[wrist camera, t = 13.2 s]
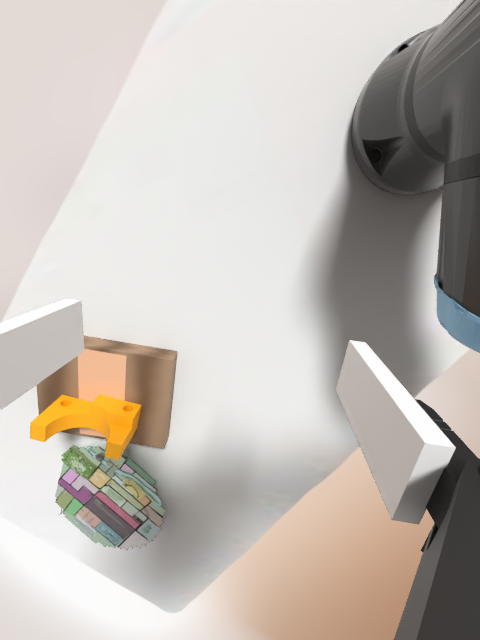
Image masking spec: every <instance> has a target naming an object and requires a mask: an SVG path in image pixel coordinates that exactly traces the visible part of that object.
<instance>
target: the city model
mask: <svg viewBox="0 0 480 640" xmlns="http://www.w3.org/2000/svg"><path fill="white" fill-rule="evenodd" d="M86 449H87V450H86ZM86 449H85V448H84V447H83V448H80V449H78V447H77V446H75V445H74V446H73V447H72V448H70V450H68V451H67V452H66V453H64V455H62V456H63V457H64V458H65V459H62V461H63V462H64V463H63V467H62V471H61V475H60V479H59V481H58V482H57V483H58V487H57V491H56V495H55V497H56V498H57V499H56V503H57V504H58V505H59V506H60V507H61V508H62V509H64V510H63V511H62V509H61V511H62V512H61V513H63V514H64V515H66V516H65V517H66V518H67V519H68V520H69V521H70V522H72V523H73V524H74V525H75V526H76V527H77V528H79V529H80V530H81V531H82V532H83V533H84V534H85V535H87V536H88V537H89V538H90V539H91V540H92V541H93V542H95V543H97V542H98V541H99V542H100V543H101V544H102V545H103V546H104V547H106V546H108V547H114V548H115V546H117V547H119V548H120V549H122V548H125V549H126V550H128V548H130V547H131V548H133V547H139V548H141V547H142V546H143V545H145V546H146V545H147V543H148V542H150V540H151V541H153V539H154V538H155V537H156V536H157V534H158V533H159V532H160V531H161V529H162V528H161V526H160V525H162V524H163V523H164V522H163V521H162V520H163V519H164V518H166V517H165V516H164V515H163V514H164V513H165V512H166V510H164V509H163V508H162V507H161V503H162V502H161V500H160V499H159V498H158V495H157V494H156V493H155V491H156V490H157V489H156V488H155V487H153V486H152V485H153V484H155V483H156V482H155V481H154V480H153V479H152V478H151V477H150V476H149V475H148V474H146V473H145V472H144V471H143V470H142V469H141V468H140V467H139V466H138V465H136V464H135V463H134V462H133V461H132V460H131V459H130V458H127V459H125V458H123V457H122V456H121V458H120V459H119V460H116V459H112V458H108V457H105V452H106V450H105V452H104V451H103V450H102V449H100V448H99V447H98V446H97V448H95V447H93V448H91V447H90V446H88V447H87V448H86ZM159 505H160V506H159ZM61 513H60V514H61ZM60 514H59V515H60Z"/></svg>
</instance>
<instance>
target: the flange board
mask: <svg viewBox="0 0 480 640" xmlns="http://www.w3.org/2000/svg"><path fill="white" fill-rule="evenodd" d="M176 360H177V351H171V350H165V349H159V348H153V347H147V346H141V345H136V344H130V343H124V342H118V341H112V340H106V339H100V338H94V337H88V336H84V352H82V353H81V354H79V355H78V356H77V357H75V358H74V359H72V360H71V361H70V362H68V363H67V364H65V365H64V366H62V367H61V368H60V369H58V370H57V371H55V372H54V373H53V374H51V375H50V376H48V377H47V378H45V379H44V380H43V381H41V382H40V383H38V384H37V395H38V408H39V415H40V414H41V413H42V412H43V411H45V410H46V409H47V408H48V407H49V406H50V405H51V404H52V403H54V402H55V401H56V400H57V399H58V398H59V397H60V396H61V395H66V396H70V397H74V398H78V399H82V400H86V401H90V402H93V401H94V400H95V399H96V398H97V397H98V396H99V395H100V394H101V395H105V396H109V397H113V398H116V399H120V400H124V401H128V402H132V403H136V404H140V405H142V407H141V412H140V417H139V423H138V428H137V429H136V431H135V433H134V435H133V436H132V438H131V440H130V442H129V443H133V444H139V445H145V446H152V447H158V448H164V446H165V444H166V441H167V439H168V436H169V429H170V419H171V409H172V399H173V389H174V379H175V370H176ZM61 432H66V433H72V434H78V435H84V436H90V437H96V438H102V439H106V437H105V436H104V435H103V434H102V433H100V432H99V431H97V430H94V429H91V428H84V427H78V428H71V429H66V430H63V431H61Z"/></svg>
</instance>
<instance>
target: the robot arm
mask: <svg viewBox="0 0 480 640" xmlns="http://www.w3.org/2000/svg"><path fill="white" fill-rule="evenodd" d="M352 145H353V150H354V154H355V157H356V160H357V162H358V164H359V166H360V168H361V170H362V171H363V173H364V174H365V175H366V177H367V178H368V179H369V180H370V181H371V182H372V183H374V184H375V185H376V186H378V187H380V188H381V189H383V190H386V191H388V192H392V193H396V194H417V193H422V192H427V191H431V190H435V189H438V188H440V187H443V193H442V208H441V222H440V236H439V249H438V263H437V273H436V275H435V277H434V284H435V288H436V289H437V316H438V320H439V322H440V324H441V325H442V326H443V327H444V328H445V329H446V330H447V331H448V333H449V334H450V335H451V336H452V337H453V338H454V339H456V340H457V341H459V342H460V343H462V344H463V345H465V346H467V347H469V348H471V349H473V350H475V351H477V352H479V353H480V0H463V1H462V2H461V3H460V4H459V5H458V6H457V7H456V8H455V9H454V11H453V12H452V13H451V14H450V15H449V16H448V17H447V18H446V19H445V20H444V21H443V22H442V23H441V24H439V25H437V26H435V27H432V28H430V29H428V30H426V31H424V32H421V33H419V34H417V35H415V36H413V37H411V38H410V39H408V40H406V41H405V42H403V43H402V44H401V45H399V46H398V47H397V48H396V49H394V50H393V51H392V52H391V53H390V54H389V55H388V56H387V57H386V58H385V59H384V60H383V62H382V63H381V64H380V65H379V67H378V68H377V69H376V70H375V72H374V73H373V74H372V76H371V77H370V78H369V80H368V81H367V83H366V85H365V86H364V88H363V90H362V92H361V94H360V96H359V99H358V101H357V104H356V108H355V111H354V116H353V122H352ZM82 352H84V336H83V320H82V304H81V300H75V299H68V298H65V299H63V300H60V301H57V302H55V303H52V304H49V305H47V306H44V307H41V308H39V309H36V310H33V311H31V312H28V313H25V314H23V315H20V316H17V317H15V318H12V319H9V320H7V321H4V322H1V323H0V410H2V409H3V408H4V407H6V406H7V405H9V404H10V403H12V402H13V401H14V400H16V399H17V398H19V397H20V396H21V395H23V394H24V393H26V392H27V391H29V390H30V389H31V388H33V387H34V386H36V385H37V384H38V383H40V382H41V381H43V380H44V379H45V378H47V377H48V376H50V375H51V374H53V373H54V372H55V371H57V370H58V369H60V368H61V367H62V366H64V365H65V364H67V363H68V362H70V361H71V360H72V359H74V358H75V357H77V356H78V355H79V354H81V353H82ZM336 392H337V394H338V397H339V399H340V401H341V403H342V406H343V408H344V410H345V413H346V415H347V417H348V420H349V422H350V424H351V427H352V429H353V431H354V434H355V436H356V438H357V441H358V443H359V445H360V447H361V450H362V452H363V454H364V457H365V459H366V461H367V464H368V466H369V468H370V471H371V473H372V475H373V478H374V480H375V482H376V485H377V487H378V489H379V491H380V494H381V496H382V498H383V501H384V503H385V505H386V507H387V510H388V512H389V515H390V517H391V519H392V520H397V521H403V522H408V523H414V524H419V523H420V521H421V519H422V517H423V515H424V513H425V511H426V509H427V510H428V512H429V513H430V515H431V517H432V519H433V520H434V522H435V524H434V526H433V527H432V530H431V531H430V533H429V535H428V537H427V539H426V541H425V544H424V546H423V547H422V549H421V551H422V552H423V555H422V558H421V561H420V564H419V567H418V570H417V573H416V576H415V579H414V582H413V585H412V588H411V591H410V594H409V597H408V599H407V602H406V606H405V608H404V611H403V614H402V617H401V620H400V623H399V626H398V629H397V632H396V635H395V638H394V640H480V459H478V458H477V457H476V456H475V454H474V453H473V452H472V451H471V450H470V449H469V448H468V447H467V446H466V445H465V444H464V442H463V441H462V440H461V439H460V438H459V437H458V436H457V435H456V434H455V433H454V431H451V428H450V427H449V426H448V425H447V424H446V423H445V422H443V419H442V418H441V417H440V416H439V415H438V414H437V413H436V412H435V411H434V410H433V409H432V408H430V407H429V406H428V405H426V404H425V403H423V402H422V401H421V400H416V399H414V398H413V397H412V396H411V395H410V394H409V392H408V391H407V390H406V389H405V388H404V387H403V385H402V384H401V383H400V382H399V381H398V380H397V378H396V377H395V376H394V375H393V374H392V373H391V371H390V370H389V369H388V368H387V367H386V366H385V364H384V363H383V362H382V361H381V360H380V359H379V357H378V356H377V355H376V354H375V353H374V352H373V350H372V349H371V348H370V347H369V346H368V345H367V343H366V342H359V341H352V340H349V343H348V347H347V350H346V354H345V358H344V361H343V365H342V368H341V372H340V375H339V379H338V383H337V386H336Z"/></svg>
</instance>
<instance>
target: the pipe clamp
mask: <svg viewBox="0 0 480 640" xmlns="http://www.w3.org/2000/svg"><path fill="white" fill-rule="evenodd" d="M141 407H142V405H140V404H136V403H132V402H128V401H124V400H120V399H116V398H113V397H109V396H105V395H101V394H100V395H99V396H98V397H97V398H96V399H95V400H94V401H93V402H90V401H86V400H82V399H78V398H74V397H70V396H66V395H61V396H60V397H59V398H58V399H57V400H56V401H55V402H54V403H52V404H51V405H50V406H49V407H48V408H47V409H46V410H45V411H43V412H42V413H41V414H40V415H39V416H38V417H37V418H36V419H34V420H33V421H32V422H31V426H30V438H31V439H35V440H39V441H43V442H45V441H46V440H47V439H48V438H50V437H51V436H53V435H54V434H56V433H58V432H61V431H63V430H66V429H71V428H78V427H84V428H91V429H94V430H97V431H99V432H100V433H102V434H103V435H104V436H105V437H106V439H107V445H106V452H105V457H108V458H112V459H116V460H119V459H120V458H121V456H122V454H123V452H124V450H125V449H126V447H127V445H128V443H129V442H130V440H131V438H132V436H133V435H134V433H135V431H136V429H137V428H138V423H139V417H140V412H141Z"/></svg>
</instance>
